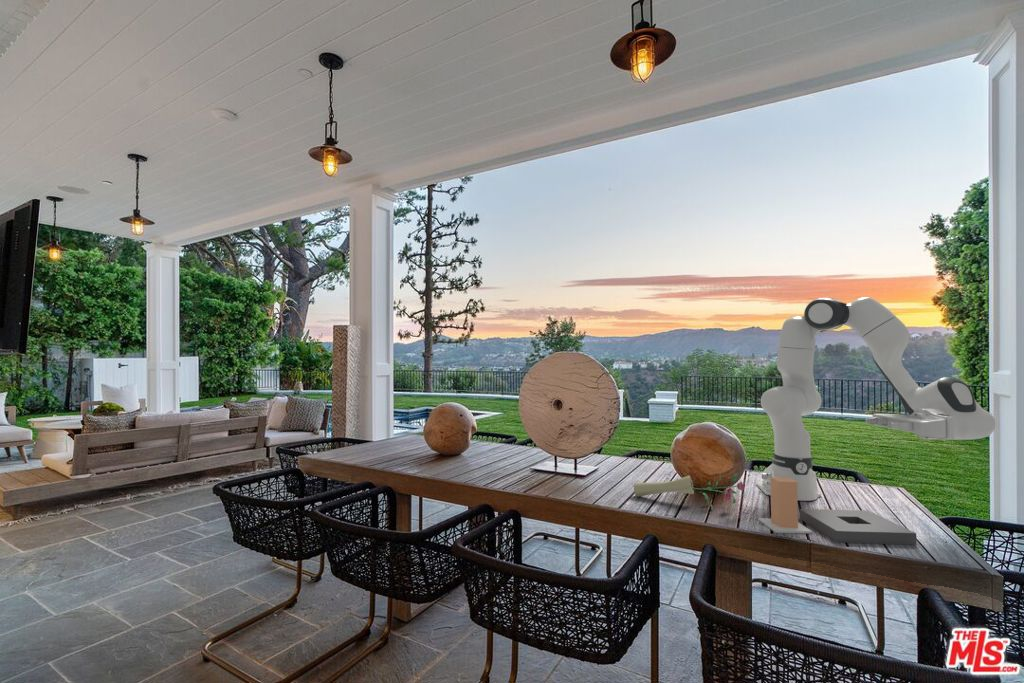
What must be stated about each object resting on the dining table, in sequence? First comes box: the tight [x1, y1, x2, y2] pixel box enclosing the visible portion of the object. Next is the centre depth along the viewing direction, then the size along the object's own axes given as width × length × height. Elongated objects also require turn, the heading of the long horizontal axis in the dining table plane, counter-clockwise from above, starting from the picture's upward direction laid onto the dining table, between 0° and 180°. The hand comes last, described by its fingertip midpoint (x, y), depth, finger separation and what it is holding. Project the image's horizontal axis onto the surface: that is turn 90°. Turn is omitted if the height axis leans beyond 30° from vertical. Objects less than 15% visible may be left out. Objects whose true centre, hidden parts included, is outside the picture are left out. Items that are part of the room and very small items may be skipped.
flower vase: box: [633, 473, 745, 511], centre depth 155 cm, size 12×12×35 cm
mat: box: [758, 517, 813, 534], centre depth 135 cm, size 10×10×1 cm
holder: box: [799, 508, 917, 545], centre depth 131 cm, size 18×20×3 cm
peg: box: [770, 477, 799, 528], centre depth 135 cm, size 5×5×13 cm
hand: (878, 423), depth 136 cm, fingers open, 8 cm apart
